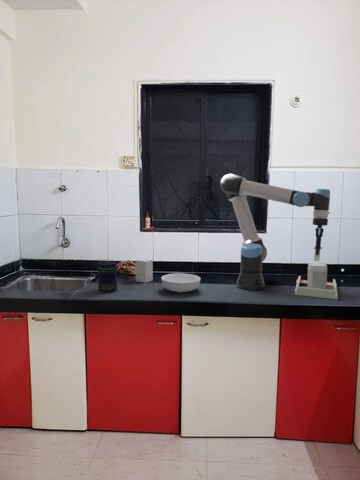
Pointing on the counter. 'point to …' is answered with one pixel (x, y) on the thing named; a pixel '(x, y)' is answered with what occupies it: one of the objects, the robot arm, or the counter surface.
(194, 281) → the serving bowl
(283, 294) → the counter surface
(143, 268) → the supplement box
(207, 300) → the counter surface
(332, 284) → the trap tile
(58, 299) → the counter surface
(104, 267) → the storage jar
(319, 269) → the supplement tub
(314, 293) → the channel
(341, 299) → the counter surface
